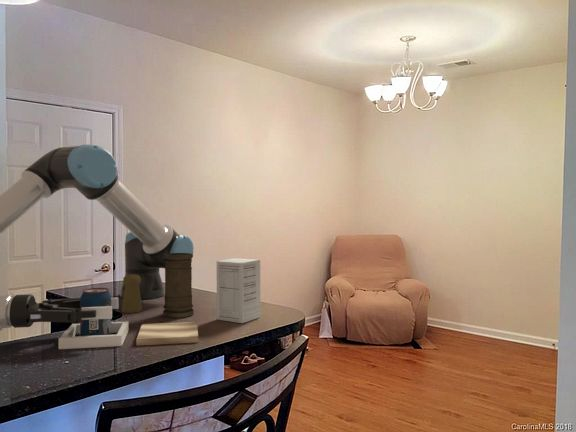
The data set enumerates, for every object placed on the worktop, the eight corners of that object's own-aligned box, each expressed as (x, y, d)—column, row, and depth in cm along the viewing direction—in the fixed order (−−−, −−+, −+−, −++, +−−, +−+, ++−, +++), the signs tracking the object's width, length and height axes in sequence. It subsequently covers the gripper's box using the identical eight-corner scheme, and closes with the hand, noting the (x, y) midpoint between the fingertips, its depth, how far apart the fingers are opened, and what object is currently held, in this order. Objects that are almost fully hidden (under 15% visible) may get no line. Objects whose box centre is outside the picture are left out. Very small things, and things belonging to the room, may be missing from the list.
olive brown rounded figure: (134, 313, 142) (134, 276, 141) (117, 311, 144) (117, 275, 143) (146, 309, 147) (146, 273, 147) (130, 307, 149) (130, 272, 149)
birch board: (141, 329, 123) (141, 324, 123) (196, 327, 126) (196, 321, 126) (136, 345, 109) (136, 339, 109) (198, 342, 112) (198, 336, 112)
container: (186, 318, 135) (186, 255, 135) (157, 317, 137) (157, 255, 137) (198, 312, 144) (198, 252, 144) (171, 310, 146) (171, 252, 145)
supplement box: (261, 317, 138) (262, 259, 137) (242, 324, 130) (243, 262, 129) (235, 313, 143) (235, 257, 142) (215, 319, 135) (215, 260, 134)
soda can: (83, 336, 117) (83, 287, 116) (113, 334, 118) (113, 286, 118) (77, 344, 110) (77, 292, 110) (109, 342, 112) (109, 291, 111)
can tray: (72, 333, 119) (72, 323, 119) (128, 330, 122) (128, 321, 122) (58, 349, 106) (58, 338, 106) (121, 346, 109) (121, 335, 109)
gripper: (29, 316, 121) (121, 312, 126) (-6, 340, 99) (107, 335, 104) (29, 286, 121) (121, 284, 126) (-6, 305, 99) (107, 301, 104)
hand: (115, 307), depth 115 cm, fingers open, 10 cm apart
